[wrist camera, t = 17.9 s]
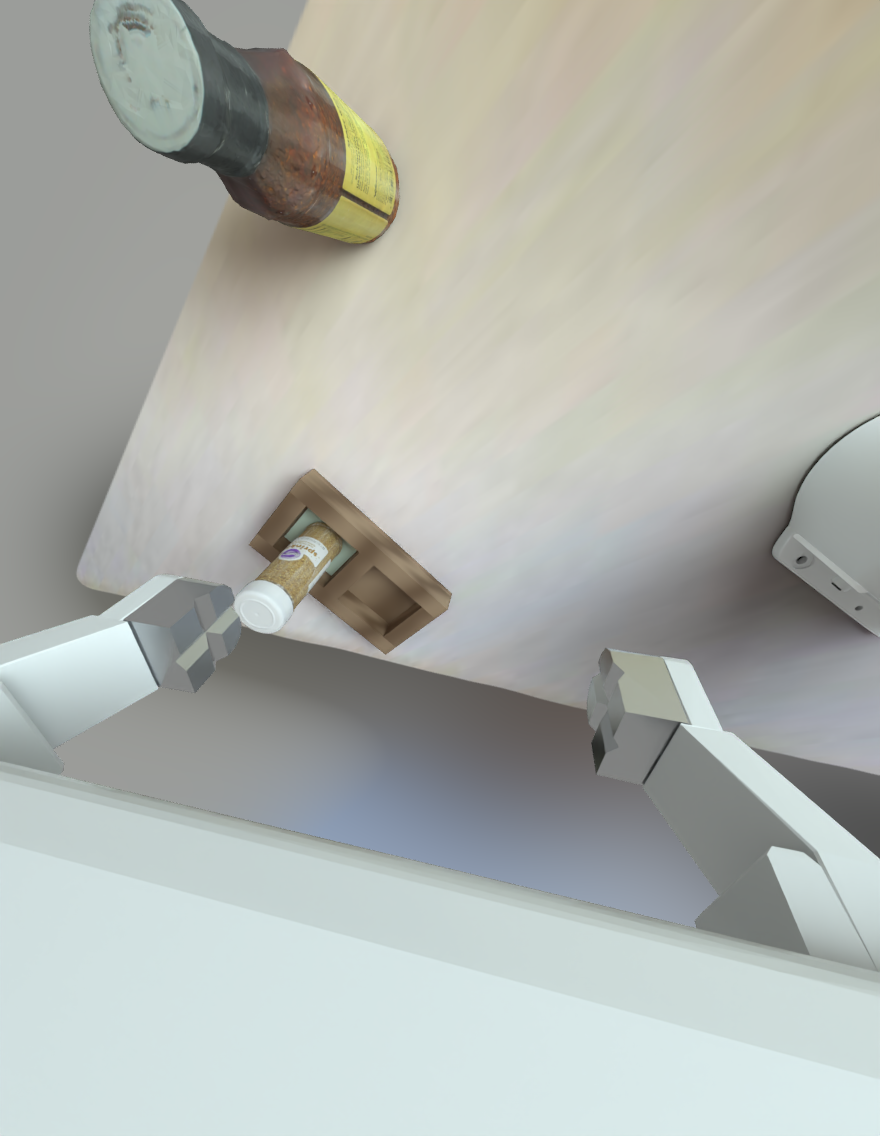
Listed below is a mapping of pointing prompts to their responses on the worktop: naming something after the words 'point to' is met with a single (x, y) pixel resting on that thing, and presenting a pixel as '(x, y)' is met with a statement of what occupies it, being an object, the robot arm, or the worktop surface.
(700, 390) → the worktop surface
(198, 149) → the sauce bottle
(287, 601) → the sprinkles bottle
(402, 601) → the spice caddy
